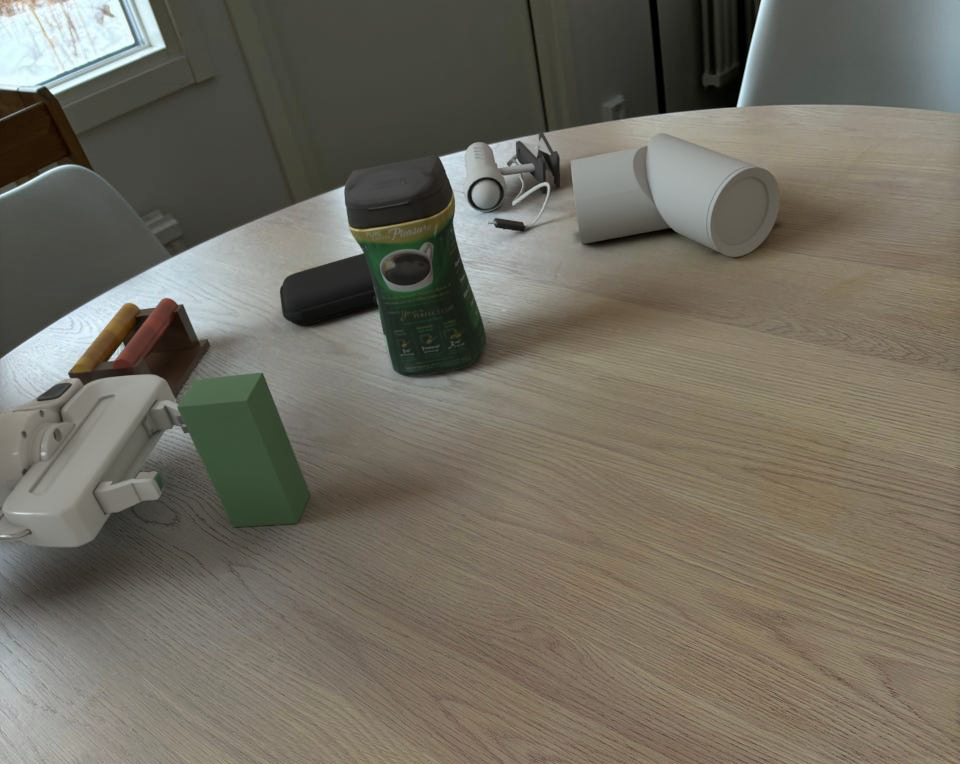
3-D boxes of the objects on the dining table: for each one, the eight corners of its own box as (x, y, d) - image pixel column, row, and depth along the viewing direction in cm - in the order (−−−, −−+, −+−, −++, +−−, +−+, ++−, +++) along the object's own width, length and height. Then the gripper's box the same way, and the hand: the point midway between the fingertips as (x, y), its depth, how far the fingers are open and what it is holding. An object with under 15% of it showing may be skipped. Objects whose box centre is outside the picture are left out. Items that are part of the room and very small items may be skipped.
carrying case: (289, 339, 113) (420, 301, 113) (279, 313, 110) (413, 275, 111) (283, 298, 120) (406, 263, 120) (274, 273, 118) (400, 237, 118)
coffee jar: (490, 330, 105) (450, 138, 92) (484, 371, 99) (439, 173, 87) (398, 343, 107) (345, 158, 94) (386, 384, 101) (329, 193, 89)
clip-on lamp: (574, 245, 122) (552, 158, 132) (573, 196, 116) (550, 109, 126) (473, 260, 122) (459, 171, 132) (468, 211, 116) (453, 122, 127)
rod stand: (81, 419, 109) (53, 367, 105) (130, 354, 118) (106, 304, 114) (166, 411, 107) (141, 357, 102) (210, 345, 116) (188, 293, 111)
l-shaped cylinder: (758, 171, 116) (578, 205, 119) (759, 78, 107) (565, 117, 110) (785, 275, 106) (588, 309, 109) (788, 182, 97) (574, 222, 101)
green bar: (232, 527, 89) (176, 406, 81) (247, 499, 92) (194, 379, 84) (297, 523, 87) (246, 400, 79) (310, 494, 90) (263, 372, 82)
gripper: (-44, 508, 81) (113, 497, 77) (71, 368, 95) (209, 353, 91) (-2, 570, 85) (149, 562, 81) (102, 427, 99) (235, 415, 95)
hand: (181, 450), depth 86 cm, fingers open, 8 cm apart
